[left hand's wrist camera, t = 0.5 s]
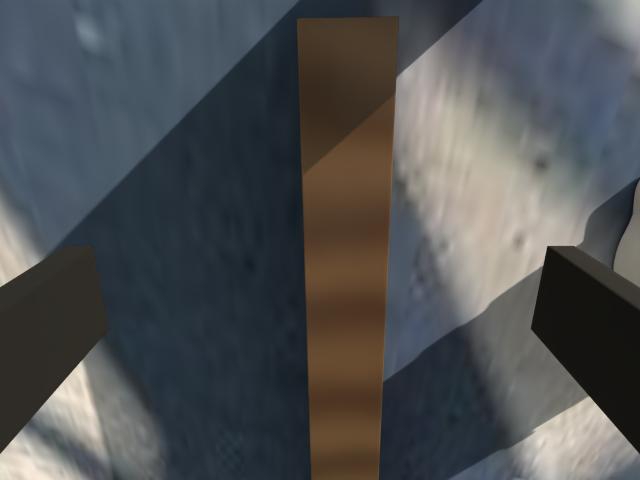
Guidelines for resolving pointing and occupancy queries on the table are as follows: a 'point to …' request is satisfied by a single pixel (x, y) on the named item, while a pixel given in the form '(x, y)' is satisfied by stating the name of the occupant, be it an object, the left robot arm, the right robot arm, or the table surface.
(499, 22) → the table surface
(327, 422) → the post
